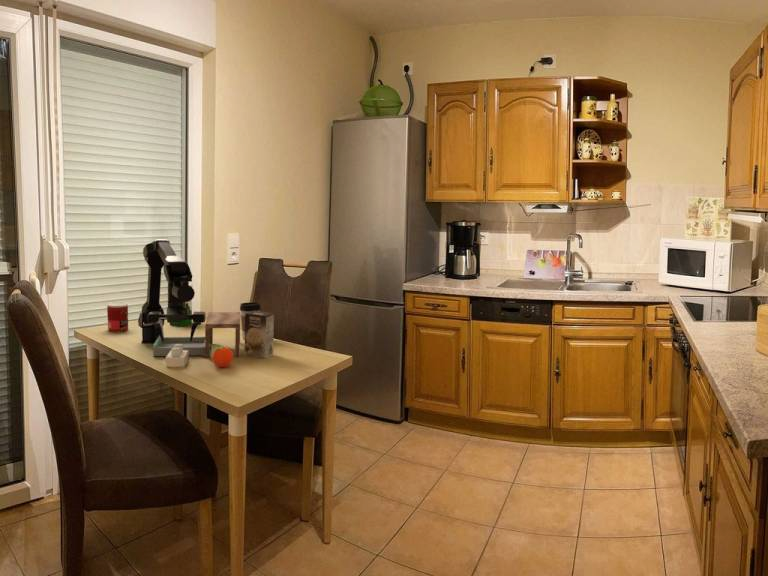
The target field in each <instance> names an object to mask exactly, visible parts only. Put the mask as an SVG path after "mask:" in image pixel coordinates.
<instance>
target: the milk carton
mask: <svg viewBox="0 0 768 576" xmlns="http://www.w3.org/2000/svg"><path fill="white" fill-rule="evenodd" d="M189 286H191V287H192V288H193V283H189ZM185 303H186V308H188V311H189V314H193V299H192V300H191V301H189V302H185ZM192 322H193V320H182V322H181V323H177V322H172V323H169V326H174V325H176V326H175V327H185V326H189V325H192ZM188 324H189V325H188Z"/></svg>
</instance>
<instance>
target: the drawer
mask: <svg viewBox="0 0 768 576" xmlns="http://www.w3.org/2000/svg"><path fill="white" fill-rule="evenodd" d="M175 344H183V350H188V357H189V356H205V336H193V338H192V341H190V336H164V342H162V340H161V337H160V335H159V336H158V338H157V340H156V341H155V343H153V346H152V350H153V351H152V354H153V357H166V356H167V355H168V353H169V352H170V351H171V349H172V348H174V345H175Z"/></svg>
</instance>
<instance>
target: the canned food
mask: <svg viewBox="0 0 768 576" xmlns="http://www.w3.org/2000/svg"><path fill="white" fill-rule="evenodd" d="M106 306H107V307H106V309H107V310H106V311H107V329H108V331H109V332H111V331H114V332H113V333H119V332H118V331H122V332H126V331H128V329H129V304H128V303H126V302H125V303H124V302H111V303H107V305H106ZM125 330H126V331H125Z"/></svg>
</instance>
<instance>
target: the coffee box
mask: <svg viewBox="0 0 768 576" xmlns="http://www.w3.org/2000/svg"><path fill="white" fill-rule="evenodd" d="M274 323H275V313H273V312H267V311H261V310H260V311H251V312H248V313H245V340H244V356H247V357H248V356H249V357H253V358H258V359H259V358H260V359H267V358H269V357H271V356H273V355H274V331H275V330H274V329H275V328H274V326H275V325H274ZM272 354H273V355H272ZM270 355H271V356H270ZM268 356H269V357H268ZM266 357H267V358H266Z"/></svg>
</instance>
